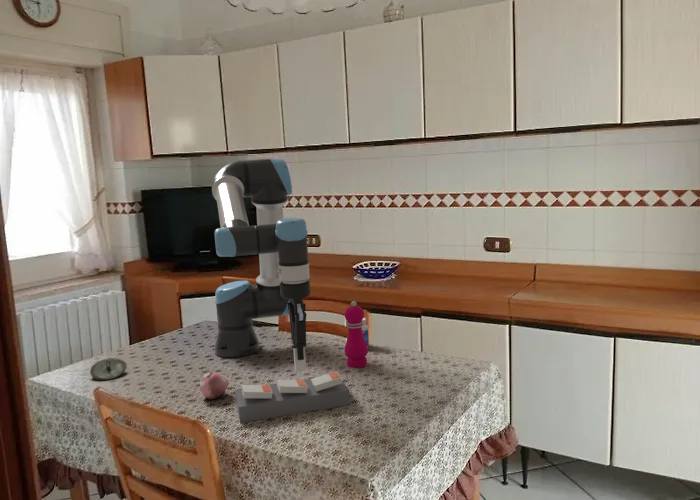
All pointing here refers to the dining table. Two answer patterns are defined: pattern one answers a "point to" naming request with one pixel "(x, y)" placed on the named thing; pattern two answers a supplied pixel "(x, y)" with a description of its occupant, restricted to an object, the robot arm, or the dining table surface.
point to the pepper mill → (355, 337)
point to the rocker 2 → (292, 386)
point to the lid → (108, 369)
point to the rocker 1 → (256, 391)
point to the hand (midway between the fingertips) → (300, 370)
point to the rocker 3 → (326, 381)
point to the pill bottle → (365, 332)
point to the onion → (214, 385)
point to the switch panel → (291, 402)
